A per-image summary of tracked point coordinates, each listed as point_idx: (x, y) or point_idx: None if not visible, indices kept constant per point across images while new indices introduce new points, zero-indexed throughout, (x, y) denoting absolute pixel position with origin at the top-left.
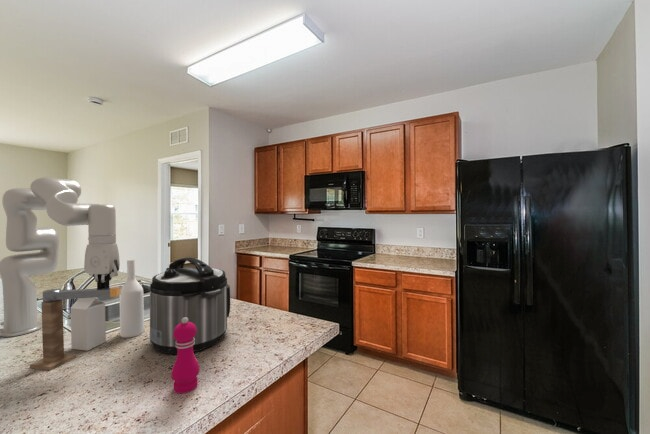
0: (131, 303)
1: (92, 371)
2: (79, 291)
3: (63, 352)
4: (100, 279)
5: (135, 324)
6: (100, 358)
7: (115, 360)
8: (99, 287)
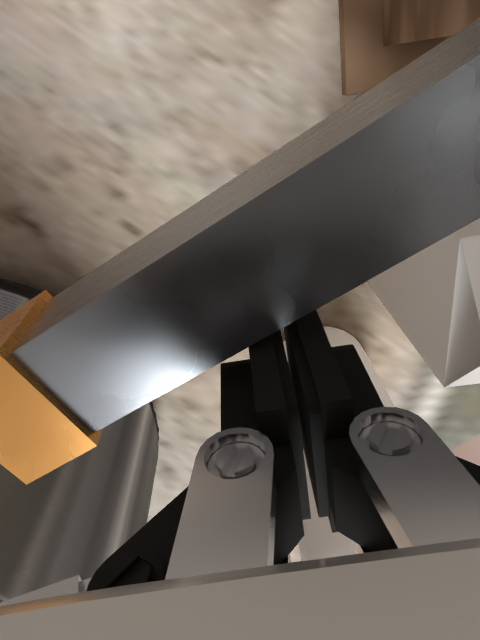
0: None
1: (99, 14)
2: (444, 73)
3: (393, 41)
4: (352, 487)
5: None
6: (207, 134)
7: (112, 146)
8: (295, 358)
